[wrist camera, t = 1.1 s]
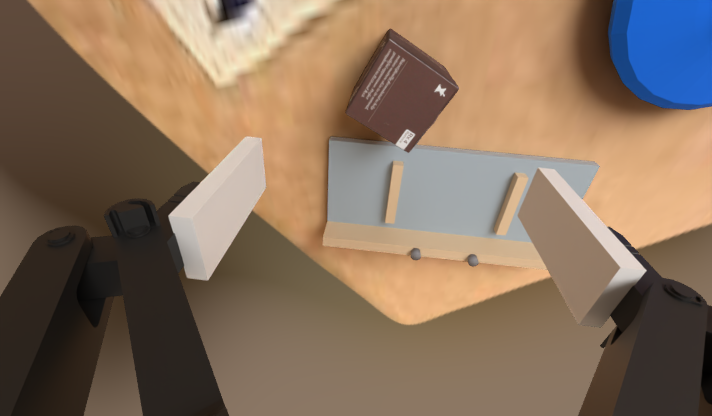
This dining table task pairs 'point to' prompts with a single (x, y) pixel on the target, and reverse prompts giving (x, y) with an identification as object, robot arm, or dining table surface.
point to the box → (401, 92)
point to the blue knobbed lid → (664, 50)
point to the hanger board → (437, 200)
